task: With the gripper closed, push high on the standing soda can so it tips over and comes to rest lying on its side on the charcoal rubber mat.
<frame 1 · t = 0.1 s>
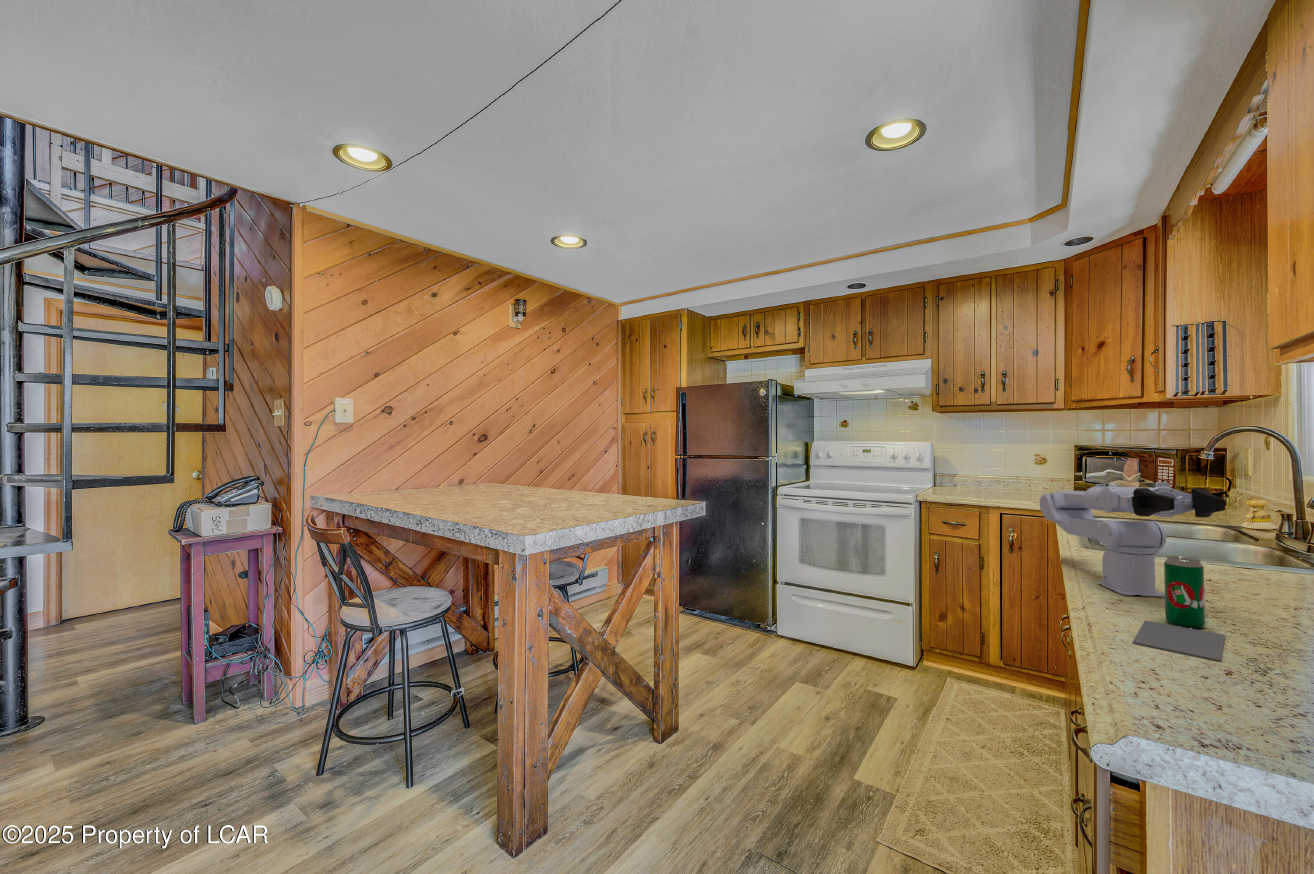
hand: (1197, 504, 97), 22 cm above the counter, tool horizontal, fingers open, 7 cm apart
soda can: (1185, 625, 95), on the counter
mat: (1179, 639, 88), on the counter
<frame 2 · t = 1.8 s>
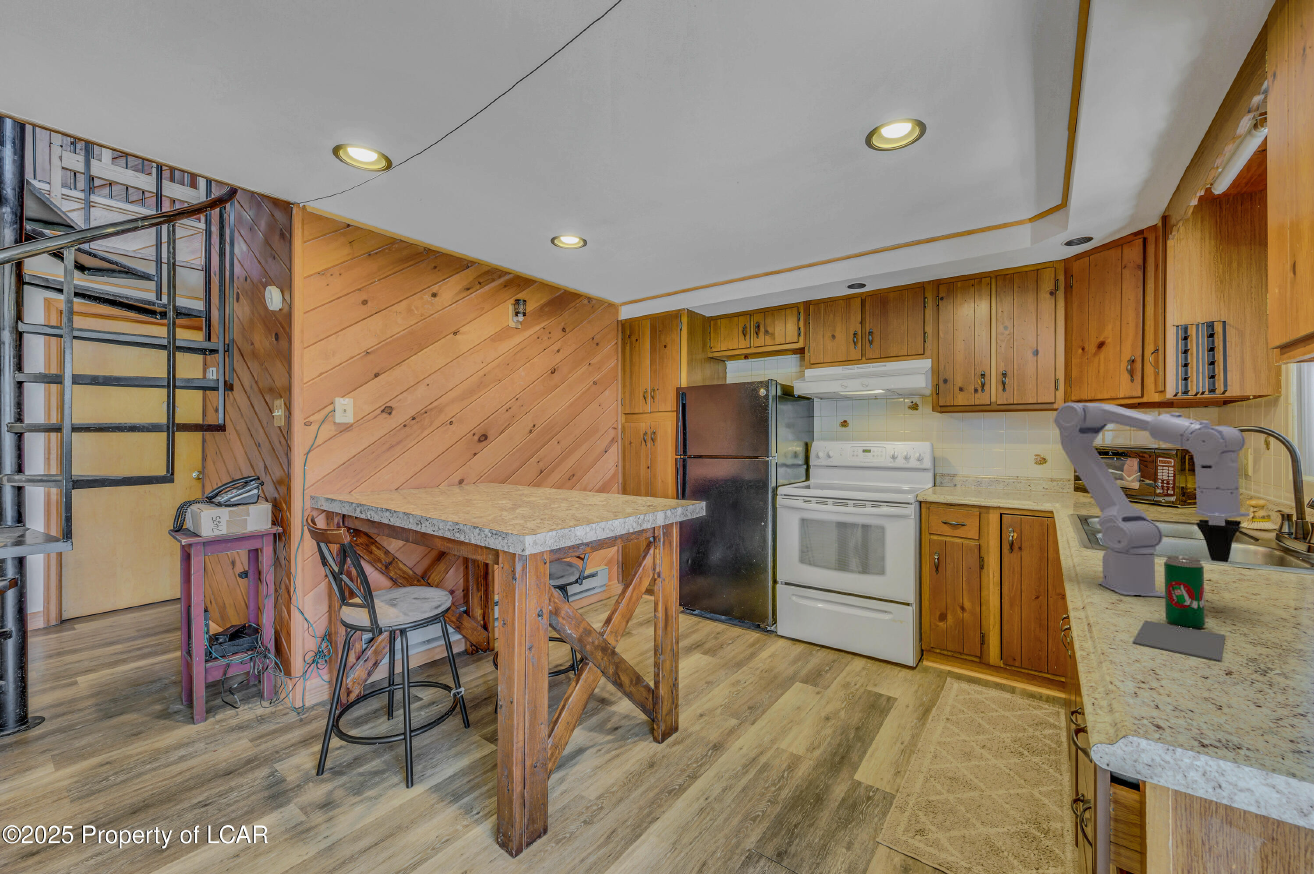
hand: (1220, 558, 100), 10 cm above the counter, tool pointing down, fingers open, 5 cm apart
nothing on the counter moved.
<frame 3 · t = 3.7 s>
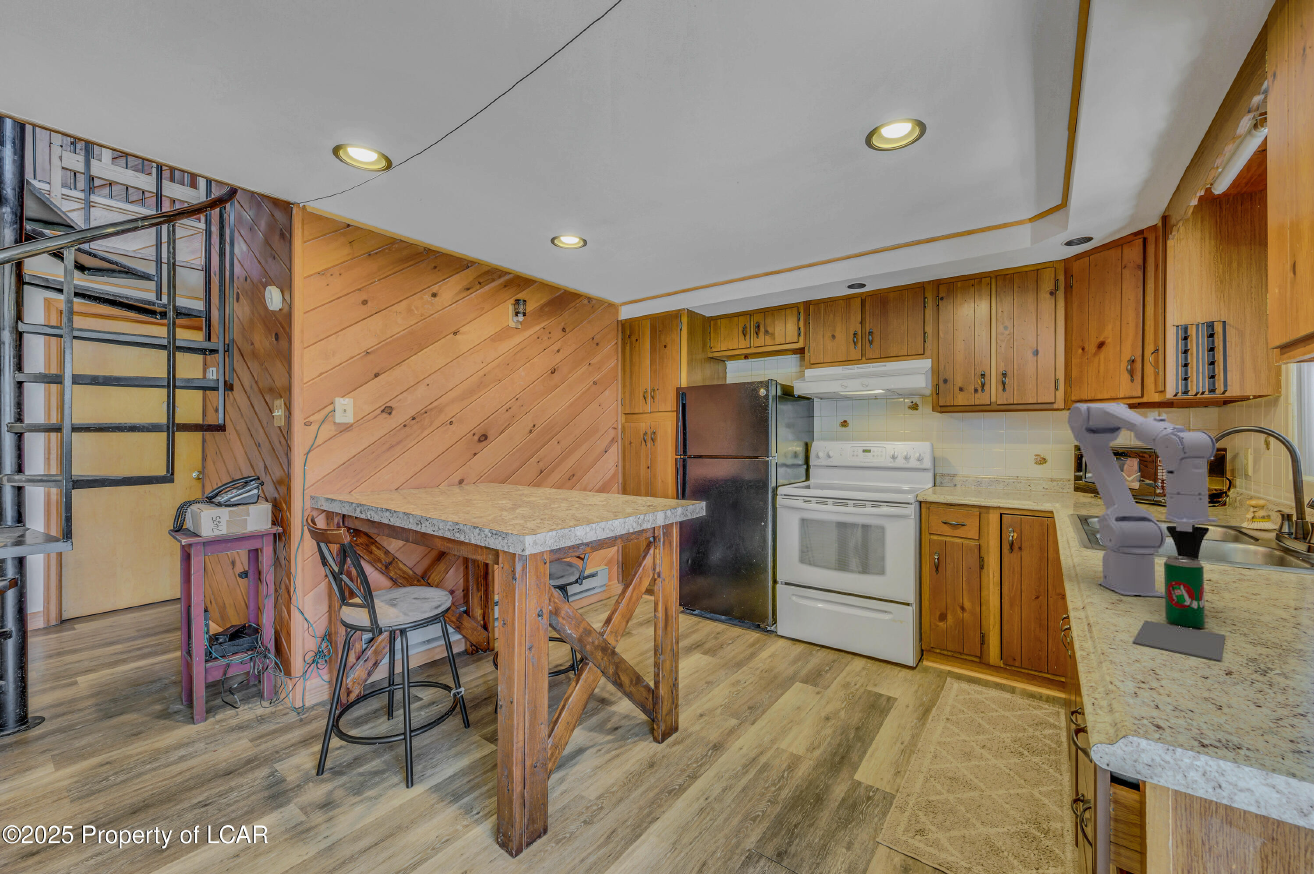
hand: (1188, 564, 101), 9 cm above the counter, tool pointing down, fingers closed
nothing on the counter moved.
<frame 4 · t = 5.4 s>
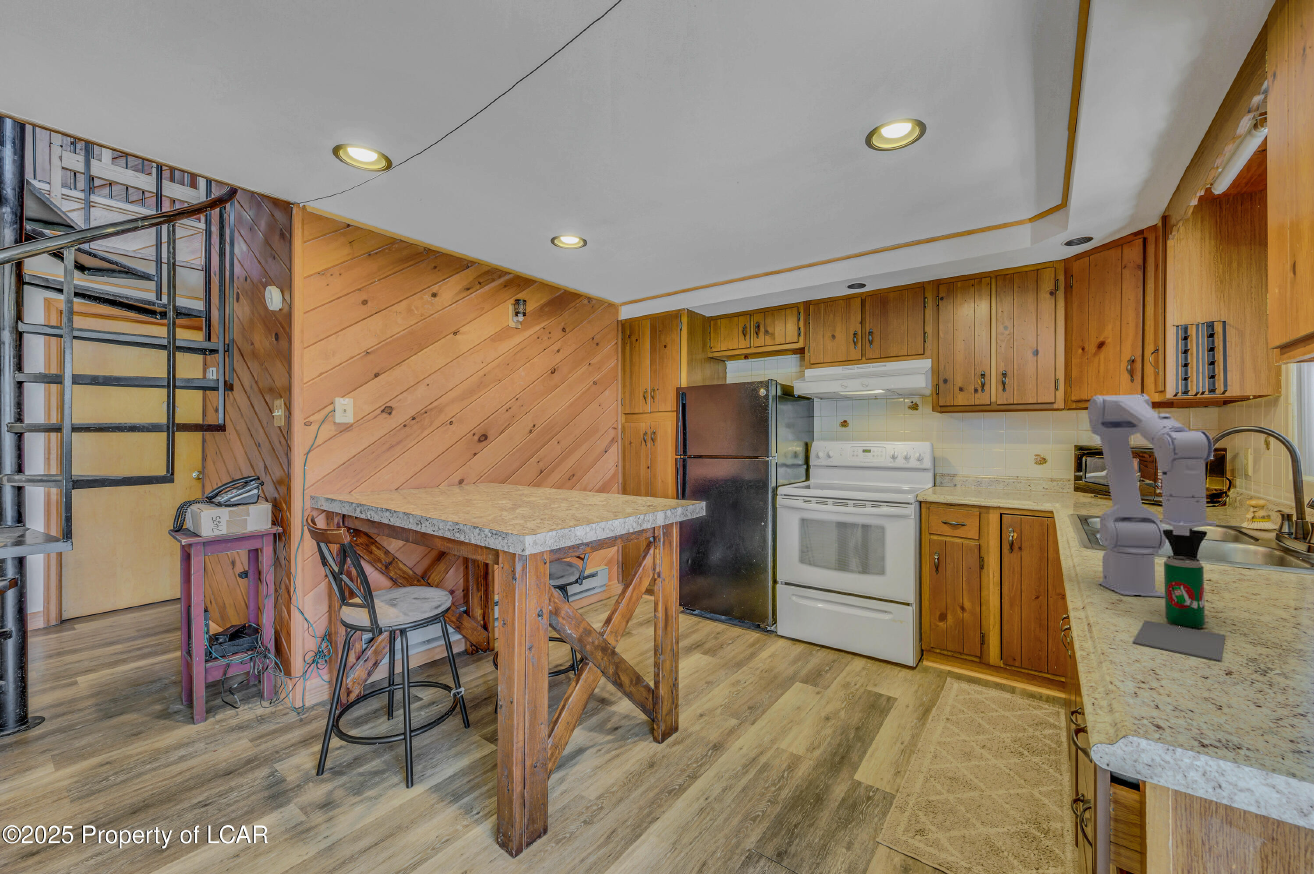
hand: (1185, 569, 97), 9 cm above the counter, tool pointing down, fingers closed
soda can: (1185, 625, 95), on the counter, touching gripper
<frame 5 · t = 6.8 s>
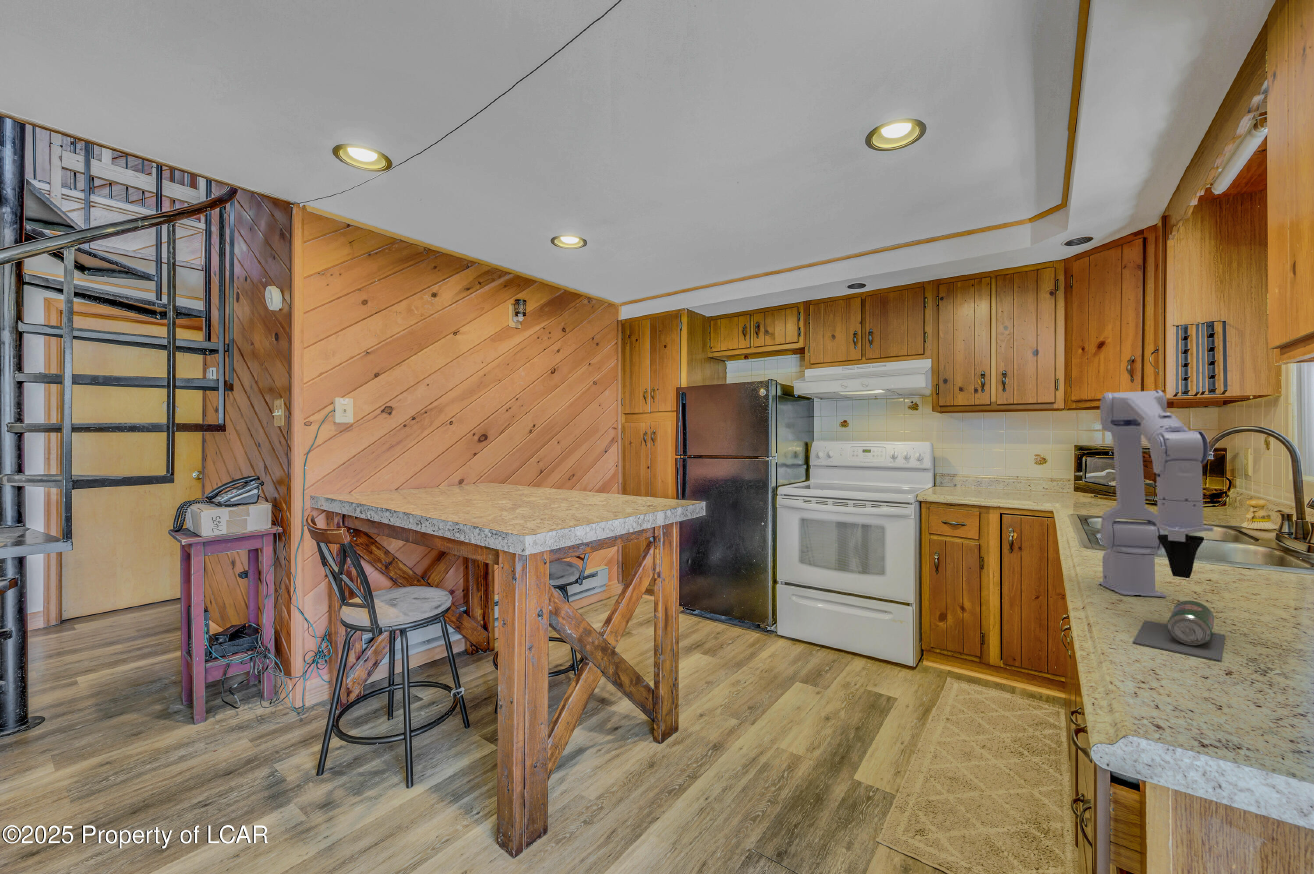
hand: (1181, 576, 92), 9 cm above the counter, tool pointing down, fingers closed
soda can: (1193, 614, 92), point 3 cm above the counter, touching mat
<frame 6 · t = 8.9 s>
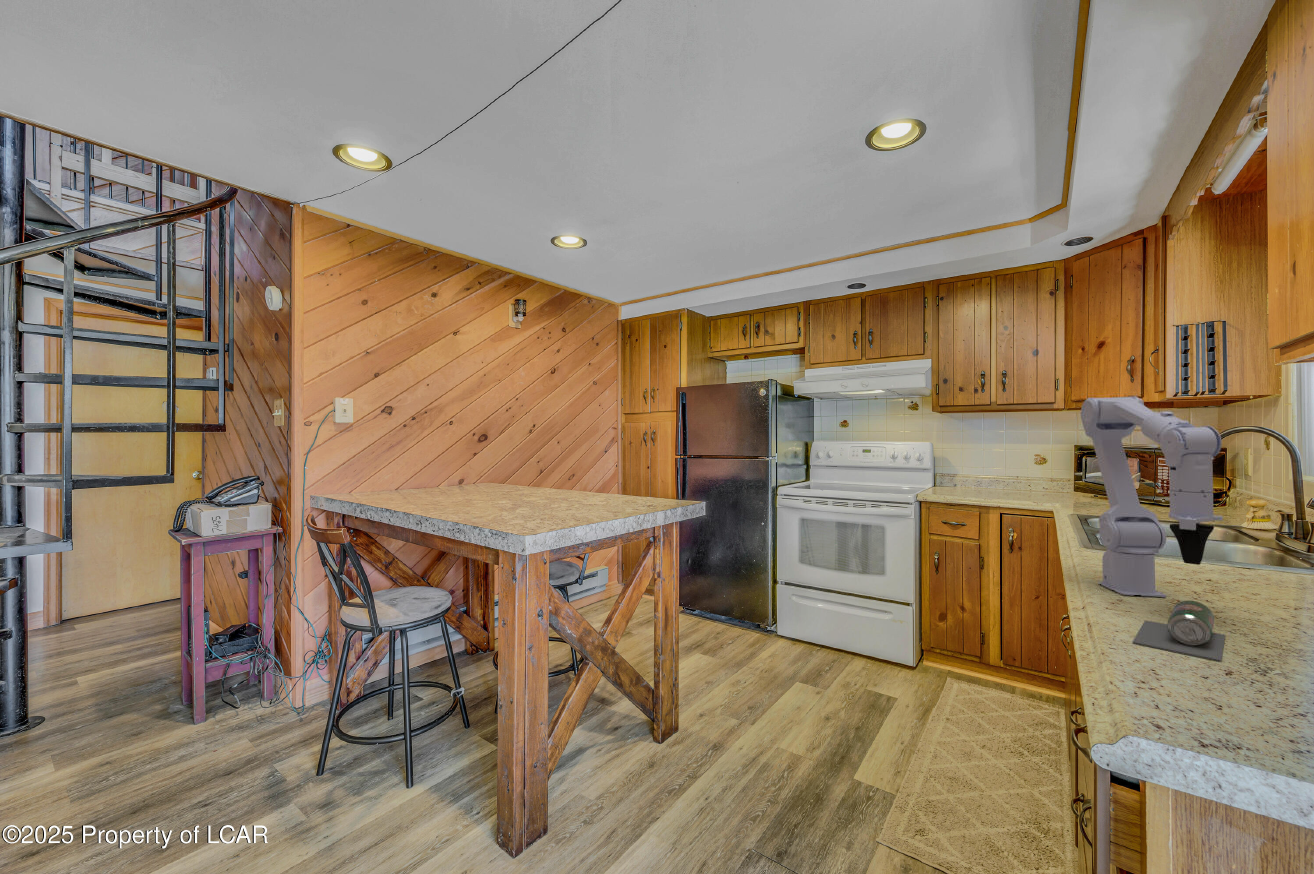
hand: (1192, 563, 98), 10 cm above the counter, tool pointing down, fingers closed
nothing on the counter moved.
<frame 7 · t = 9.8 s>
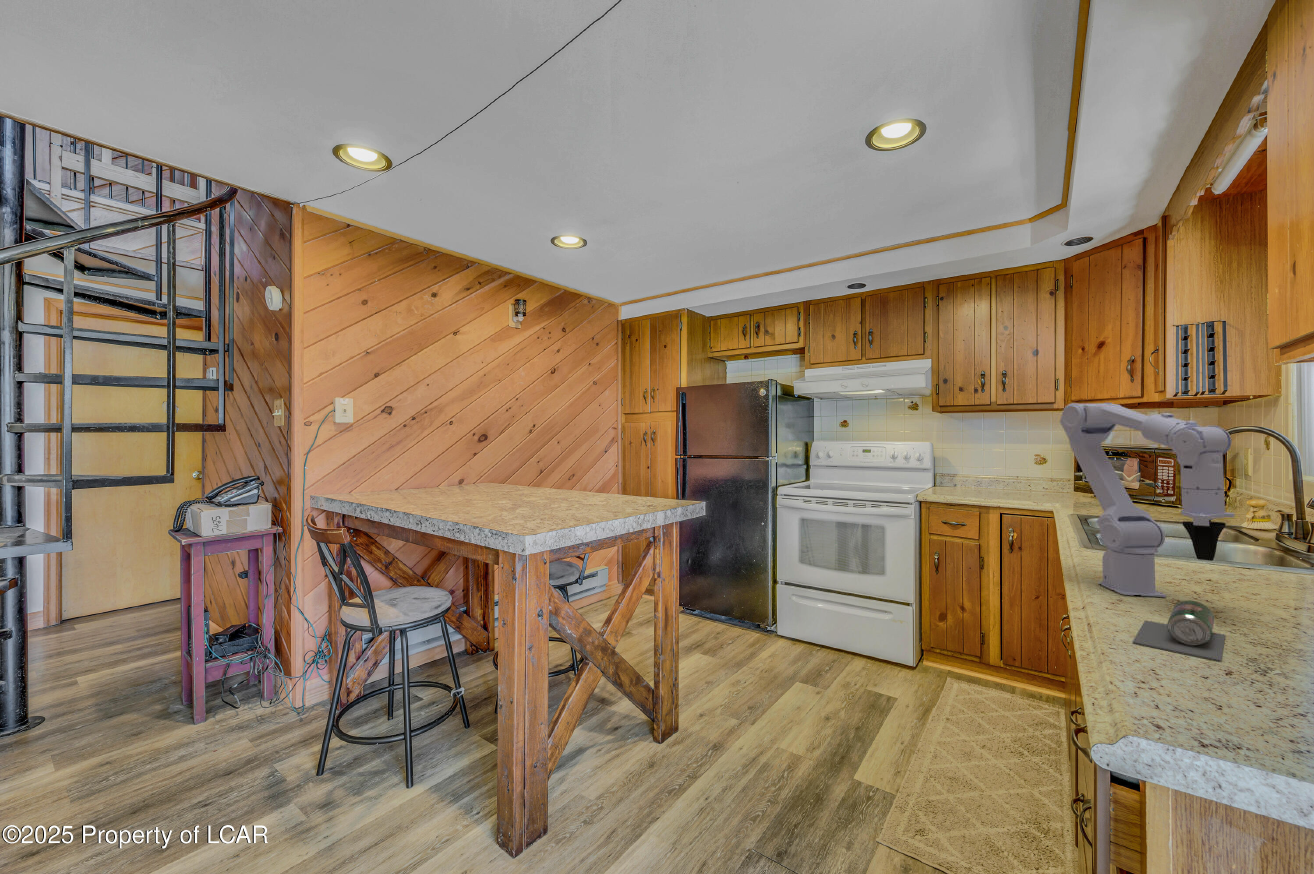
hand: (1205, 559, 100), 10 cm above the counter, tool pointing down, fingers closed
nothing on the counter moved.
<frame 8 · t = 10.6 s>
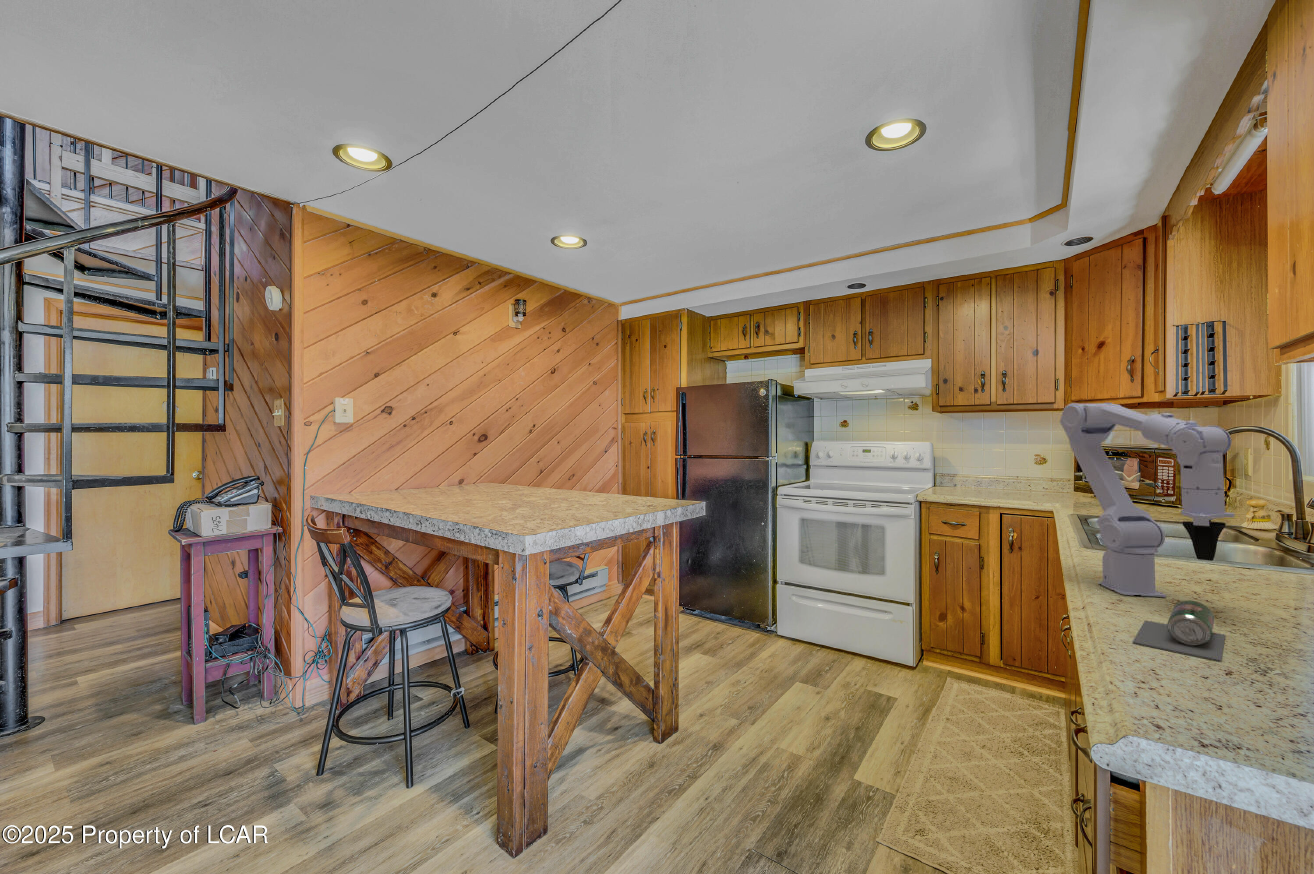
hand: (1205, 559, 100), 10 cm above the counter, tool pointing down, fingers closed
nothing on the counter moved.
at the end: soda can tilted 90°; soda can touching mat; soda can 8.5 cm from the mat (horizontally) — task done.
